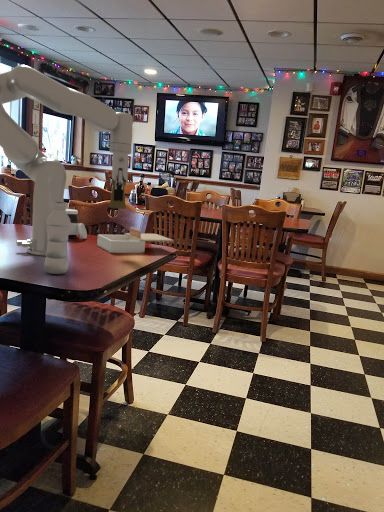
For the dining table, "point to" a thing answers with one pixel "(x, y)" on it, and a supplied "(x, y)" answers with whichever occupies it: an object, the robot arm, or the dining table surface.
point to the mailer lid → (145, 236)
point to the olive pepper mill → (117, 203)
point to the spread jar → (75, 225)
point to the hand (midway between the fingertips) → (117, 199)
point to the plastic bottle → (57, 239)
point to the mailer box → (120, 244)
